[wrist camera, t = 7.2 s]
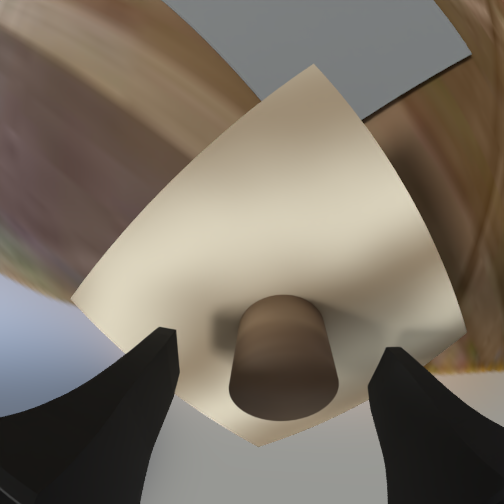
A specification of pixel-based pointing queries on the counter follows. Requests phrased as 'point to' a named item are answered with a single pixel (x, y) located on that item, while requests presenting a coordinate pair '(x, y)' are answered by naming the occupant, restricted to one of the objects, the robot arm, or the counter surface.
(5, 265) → the counter surface
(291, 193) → the lid
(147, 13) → the counter surface
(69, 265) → the counter surface
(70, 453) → the robot arm
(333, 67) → the mat
